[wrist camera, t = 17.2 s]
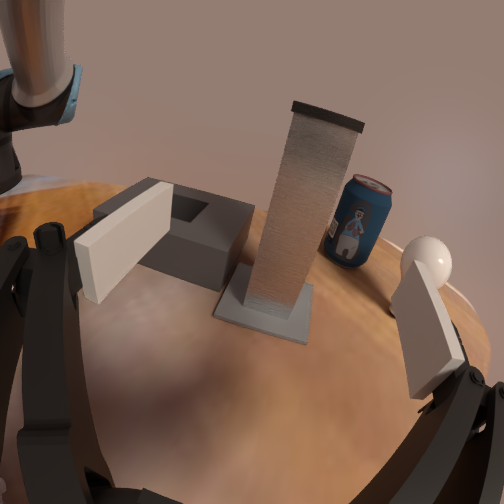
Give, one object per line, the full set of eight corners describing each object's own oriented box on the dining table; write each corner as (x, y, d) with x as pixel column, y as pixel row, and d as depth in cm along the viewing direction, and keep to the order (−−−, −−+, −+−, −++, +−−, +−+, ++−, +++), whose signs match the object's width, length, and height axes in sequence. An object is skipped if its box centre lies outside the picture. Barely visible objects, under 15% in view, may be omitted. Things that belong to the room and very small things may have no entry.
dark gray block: (96, 247, 30) (92, 209, 27) (146, 208, 40) (147, 177, 37) (219, 292, 28) (227, 252, 26) (247, 238, 38) (255, 205, 36)
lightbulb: (371, 292, 34) (409, 219, 28) (409, 304, 33) (449, 236, 27) (377, 326, 28) (426, 246, 23) (419, 337, 28) (469, 264, 22)
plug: (240, 307, 27) (293, 100, 16) (251, 277, 31) (298, 101, 21) (289, 322, 26) (365, 123, 16) (295, 290, 30) (355, 119, 20)
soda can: (354, 247, 43) (382, 180, 37) (370, 274, 37) (405, 200, 31) (316, 240, 42) (342, 168, 36) (327, 268, 36) (361, 186, 30)
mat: (213, 316, 25) (213, 313, 25) (238, 264, 33) (238, 262, 33) (306, 345, 25) (307, 342, 24) (311, 287, 32) (312, 284, 32)
